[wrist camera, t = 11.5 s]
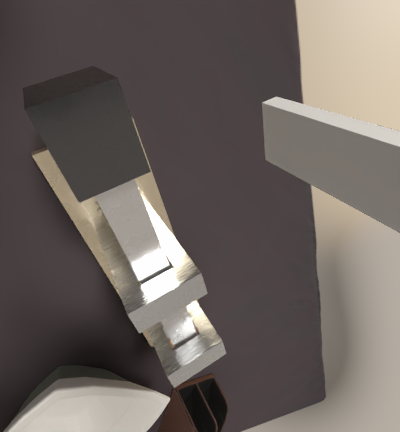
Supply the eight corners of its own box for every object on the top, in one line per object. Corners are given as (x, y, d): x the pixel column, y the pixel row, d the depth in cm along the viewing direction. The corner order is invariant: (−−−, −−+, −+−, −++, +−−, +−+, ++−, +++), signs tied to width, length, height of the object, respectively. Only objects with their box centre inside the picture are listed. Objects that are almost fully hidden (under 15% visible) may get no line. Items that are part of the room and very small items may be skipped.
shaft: (152, 321, 38) (174, 367, 33) (23, 88, 20) (24, 108, 15) (186, 301, 39) (212, 343, 34) (93, 66, 21) (117, 77, 16)
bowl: (85, 436, 54) (94, 489, 48) (-59, 442, 39) (-74, 522, 33) (163, 351, 53) (182, 395, 46) (44, 324, 38) (49, 383, 31)
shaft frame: (149, 342, 49) (184, 425, 39) (31, 152, 27) (39, 228, 17) (200, 311, 52) (245, 382, 42) (129, 115, 30) (189, 161, 19)
